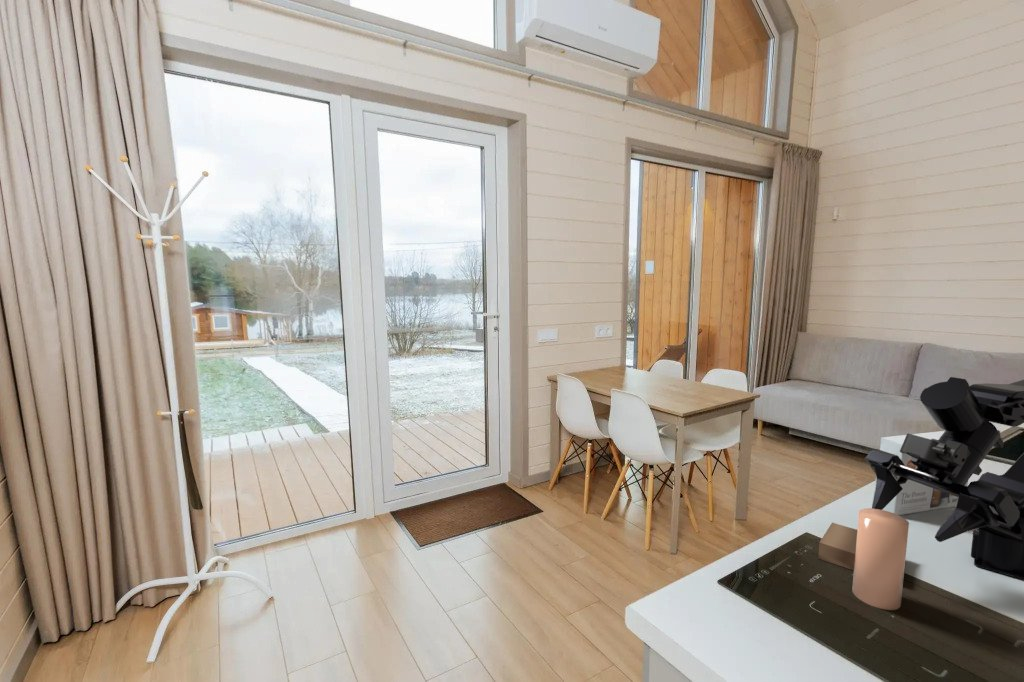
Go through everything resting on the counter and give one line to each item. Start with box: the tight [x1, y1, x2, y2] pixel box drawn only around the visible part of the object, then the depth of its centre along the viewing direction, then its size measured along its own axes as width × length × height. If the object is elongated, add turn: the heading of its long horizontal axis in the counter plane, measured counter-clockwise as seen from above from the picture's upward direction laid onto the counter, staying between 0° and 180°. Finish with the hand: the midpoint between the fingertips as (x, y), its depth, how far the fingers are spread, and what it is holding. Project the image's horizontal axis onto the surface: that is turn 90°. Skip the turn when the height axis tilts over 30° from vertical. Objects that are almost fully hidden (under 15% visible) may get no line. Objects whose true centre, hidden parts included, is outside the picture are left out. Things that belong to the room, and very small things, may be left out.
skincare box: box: [871, 430, 969, 516], centre depth 104 cm, size 21×6×16 cm, turn 105°
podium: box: [817, 522, 858, 571], centre depth 85 cm, size 10×10×3 cm
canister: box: [851, 507, 910, 611], centre depth 73 cm, size 6×6×13 cm
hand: (903, 524), depth 74 cm, fingers open, 9 cm apart
